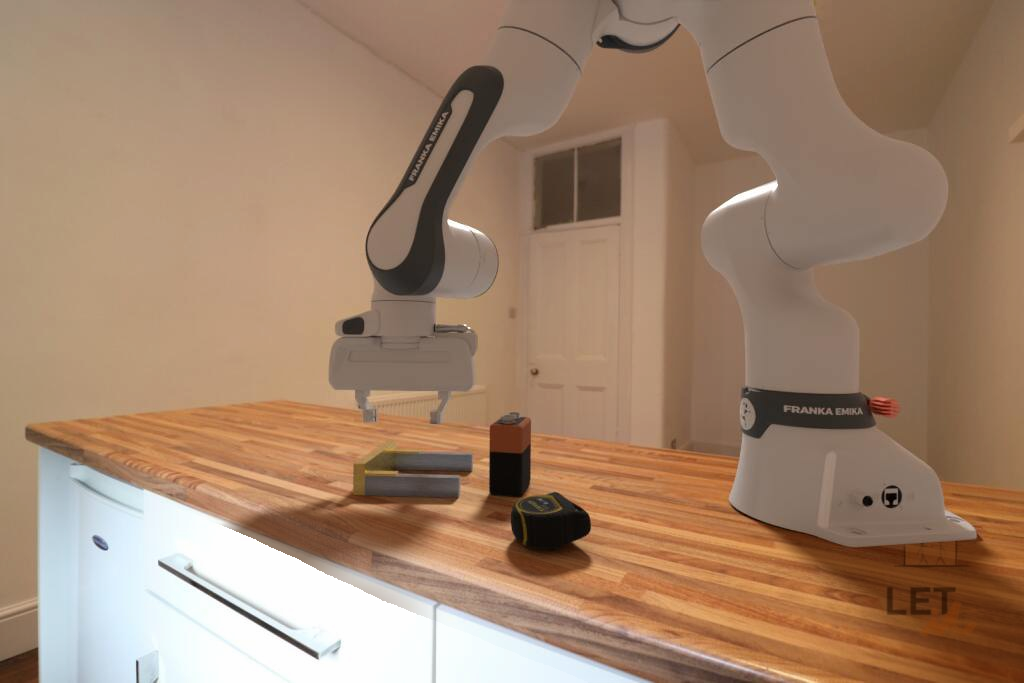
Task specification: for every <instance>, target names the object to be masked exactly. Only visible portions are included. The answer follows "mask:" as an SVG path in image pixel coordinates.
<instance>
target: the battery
mask: <svg viewBox="0 0 1024 683" xmlns="http://www.w3.org/2000/svg"><path fill="white" fill-rule="evenodd" d="M520 414H521V413H520V412H518V411H512V412H511V411H509V412H508V414H503V415H500V418H499V419H497V420H496V421H494V422H493V423H491V424H490V425H489V456H488V457H489V462H488V463H489V464H488V465H489V466H488V469H489V471H488V472H489V478H488V480H489V484H488V485H489V487H488V488H489V490H488V492H489V494H490V495H491V496H501V497H502V496H503V497H513V498H521V497H522V496H523V494H524V492H525V491H526V489H527V487H528V486H529V484H530V482H531V474H532V473H531V469H532V468H531V465H532V464H531V463H532V462H531V460H532V459H531V455H532V447H531V446H532V420H531V418H530V417H526V416H521V415H520Z"/></svg>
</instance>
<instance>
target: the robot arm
mask: <svg viewBox="0 0 1024 683" xmlns="http://www.w3.org/2000/svg"><path fill="white" fill-rule="evenodd" d="M680 26H682V27H683V28H684V29H685V30H687V31H688V32H689V34H690V35H691V36H692V38H693V40H694V42H695V43H696V46H697V48H699V51H700V57H701V62H702V66H703V69H704V70H703V71H704V74H705V78H706V83H707V86H708V89H709V94H710V97H711V101H712V105H713V109H714V112H715V116H716V120H717V123H718V127H719V131H720V136H721V137H722V138H723V140H724V141H725V143H727V145H728V146H731V147H732V148H734V149H735V150H736V149H737V150H741V151H746V152H754V153H756V154H757V155H759V156H760V157H761V158H762V159H763V160H764V161H765V162H766V163H767V165H768V166H769V168H770V170H771V172H772V173H773V175H774V176H775V177H774V178H775V180H773V181H770V182H767V183H765V184H762V185H759V186H757V187H753V188H752V189H751V188H750V189H749V190H746V191H742V192H740V193H738V194H737V195H735V196H733V197H732V198H730V199H729V200H727V201H725V202H724V203H722V204H721V205H720V206H719V207H717V208H716V209H714V210H712V211H711V212H710V213H709V215H707V217H706V218H705V220H704V222H703V224H702V227H701V231H700V233H701V234H700V246H701V251H702V253H703V256H704V258H705V259H706V261H707V263H708V264H709V265H710V267H712V269H713V270H715V271H716V272H718V273H719V274H721V275H722V277H723V278H725V280H726V281H727V283H728V284H729V286H730V288H731V290H732V292H733V294H734V296H735V298H736V301H737V303H738V306H739V309H740V312H741V318H742V322H743V329H744V355H745V358H744V359H745V362H744V364H745V365H744V366H745V370H744V371H745V372H744V373H745V376H744V378H745V382H744V383H745V384H744V385H742V387H741V392H740V406H739V419H740V431H741V433H742V436H741V437H742V438H741V445H740V446H741V447H740V453H739V454H740V455H739V459H738V463H737V464H738V465H737V470H736V473H735V478H734V481H733V485H732V487H731V491H730V492H729V496H728V501H729V503H730V504H731V505H732V506H733V507H734V508H736V510H738V511H740V512H741V513H743V514H746V515H747V516H749V517H752V518H754V519H756V520H759V521H761V522H764V523H767V524H770V525H773V526H776V527H780V528H782V529H783V528H784V529H787V530H791V531H796V532H799V533H804V534H808V535H811V536H815V537H818V538H820V539H824V540H825V541H829V542H831V543H835V544H838V545H841V546H845V547H849V548H863V547H864V548H866V547H877V546H879V547H881V546H893V545H909V544H910V545H911V544H922V543H923V544H926V543H940V542H954V541H955V542H956V541H969V540H976V539H978V536H977V530H976V529H975V527H974V525H972V524H971V523H970V522H969V521H967V520H966V519H964V518H962V517H960V516H958V515H957V514H954V513H953V512H951V511H949V510H947V509H946V508H945V500H944V492H943V488H942V484H941V481H940V479H939V477H938V475H937V473H936V471H935V470H934V469H933V468H932V467H931V466H929V464H927V463H926V462H925V461H923V460H922V459H920V458H919V457H917V456H916V455H915V454H914V453H912V452H911V451H909V450H908V449H906V448H905V447H903V446H902V445H901V444H900V443H898V442H897V441H895V440H894V439H892V438H891V437H890V436H889V435H887V434H886V433H885V432H883V431H882V430H881V429H879V428H878V427H877V422H876V419H875V417H874V415H876V416H882V417H885V418H887V419H893V418H896V417H898V414H901V411H900V410H901V409H902V407H900V406H901V403H897V402H899V401H898V400H897V399H894V398H885V397H882V396H876V397H873V398H870V397H868V396H867V395H866V394H864V393H862V392H861V391H860V346H861V345H860V338H861V337H860V334H861V330H860V327H859V324H858V323H857V321H856V319H855V318H854V317H853V315H852V314H851V313H850V312H849V311H847V310H846V309H844V308H842V307H840V306H839V305H837V304H835V303H832V302H830V301H828V300H825V299H824V297H823V296H822V295H821V294H820V292H819V290H818V287H817V286H816V283H815V279H814V268H816V267H825V266H831V265H837V264H838V265H839V264H845V263H852V262H857V261H858V262H859V261H865V260H870V259H872V258H876V257H879V256H881V255H884V254H888V253H891V252H894V251H896V250H899V249H902V248H905V247H907V246H910V245H913V244H916V243H919V242H922V240H924V239H925V238H927V237H928V236H929V235H930V234H931V233H932V231H933V230H934V229H935V228H936V227H937V225H938V223H939V222H940V220H941V219H942V217H943V215H944V212H945V210H946V207H947V204H948V198H949V181H948V176H947V174H946V171H945V169H944V168H943V166H942V164H941V163H940V161H939V160H938V159H937V158H936V157H935V156H934V155H933V154H932V153H931V152H929V151H928V150H926V149H925V148H924V147H922V146H920V145H917V144H915V143H912V142H910V141H909V142H908V141H905V140H904V141H903V140H899V139H896V138H892V137H890V136H886V135H884V134H882V133H880V132H878V131H877V130H874V129H873V128H872V127H870V126H868V125H867V124H865V122H864V121H863V120H861V119H860V118H859V117H858V116H857V115H855V113H854V112H853V111H852V110H851V109H850V107H849V106H848V105H847V103H846V102H845V100H844V99H843V97H842V96H841V94H840V91H839V89H838V87H837V84H836V82H835V78H834V76H833V75H834V74H833V73H832V69H831V65H830V63H829V59H828V56H827V53H826V52H827V51H826V48H825V44H824V41H823V37H822V32H821V28H820V25H819V20H818V15H817V12H816V8H815V3H814V0H508V2H507V5H506V7H505V9H504V11H503V13H502V15H501V18H500V21H499V24H498V25H497V29H496V31H495V33H494V35H493V39H492V40H491V42H490V45H489V47H488V49H487V50H486V52H485V54H484V56H483V57H482V58H481V60H480V61H479V63H477V65H473V66H470V67H468V68H467V69H466V70H464V71H463V72H462V73H461V74H460V75H458V77H457V78H456V80H455V81H454V82H453V84H451V87H450V88H449V89H448V91H447V93H446V95H445V96H444V97H443V99H442V102H441V103H440V105H439V107H438V109H437V110H436V113H435V114H434V116H433V119H432V121H431V122H430V124H429V126H428V128H427V129H426V132H425V134H424V136H423V138H422V139H421V141H420V143H419V145H418V147H417V149H416V151H415V153H414V155H413V157H412V159H411V161H410V163H409V164H408V167H407V169H406V171H405V172H404V173H403V174H404V175H403V176H402V178H401V179H400V182H399V183H398V186H397V187H396V189H395V191H394V193H393V194H392V196H390V198H389V199H388V201H387V202H386V203H385V205H384V206H383V207H382V209H381V210H380V211H379V213H378V214H377V215H376V216H375V218H374V220H373V221H372V223H371V225H370V226H369V228H368V232H367V234H366V239H365V246H364V247H365V250H364V251H365V258H366V261H367V264H368V267H369V269H370V272H371V276H372V279H373V292H372V295H371V298H370V310H367V311H365V312H361V313H359V314H356V315H352V316H348V317H346V318H343V319H340V320H337V321H336V322H335V324H334V332H335V335H336V336H337V337H339V338H337V339H336V340H334V342H333V344H332V346H331V348H330V353H329V354H330V355H329V363H328V383H329V385H330V386H331V388H332V389H333V390H335V391H354V399H355V401H356V402H357V404H358V406H359V408H360V409H361V411H362V421H363V423H365V424H374V423H376V422H377V421H378V420H379V419H378V418H379V417H378V414H379V413H378V412H379V411H378V410H379V409H378V408H373V407H372V405H371V403H370V401H369V399H368V398H369V397H370V396H371V391H380V392H381V391H385V392H386V391H389V392H390V391H393V392H394V391H395V392H396V391H397V392H437V398H438V400H441V401H440V403H439V405H438V407H437V408H436V409H432V410H431V411H429V418H430V419H429V423H430V425H442V424H443V422H444V410H445V408H446V407H447V405H448V404H449V403H450V400H451V399H452V392H460V393H461V392H462V393H463V392H464V393H465V392H470V391H471V390H472V389H473V388H474V387H475V386H476V384H477V374H476V373H477V372H476V371H477V370H476V361H475V357H474V356H475V355H476V354H477V351H478V348H479V347H478V345H479V344H478V343H479V342H478V334H477V332H475V330H474V329H472V328H471V327H468V326H467V324H439V323H438V324H437V317H436V316H437V313H436V312H437V309H436V308H437V303H436V302H437V298H444V299H450V298H451V299H455V300H456V299H457V300H459V299H460V300H467V299H473V298H478V297H480V296H483V294H485V293H486V292H488V290H489V289H490V288H492V286H493V284H494V283H495V280H496V278H497V275H498V272H499V262H500V260H499V259H500V258H499V254H498V253H499V252H498V249H497V247H496V245H495V243H494V242H493V240H492V239H491V238H490V237H489V236H488V235H486V234H485V233H483V232H482V231H479V230H478V229H475V228H474V227H471V226H468V225H467V224H463V223H460V222H458V221H453V220H451V219H449V214H450V211H451V208H452V206H453V204H454V203H455V201H456V199H457V197H458V195H459V194H460V192H461V190H462V187H463V186H464V183H465V182H466V180H467V179H468V177H469V174H470V173H471V170H472V168H473V166H474V165H475V163H476V161H477V159H478V158H479V155H480V154H481V152H482V151H483V150H484V149H485V148H486V147H487V146H488V145H489V144H491V142H493V141H495V140H496V139H499V138H503V137H531V136H535V135H538V134H541V133H544V132H546V131H547V130H549V129H551V128H552V127H553V126H555V125H556V124H557V123H558V121H559V120H560V118H561V117H562V116H563V114H564V113H565V111H566V109H567V108H568V106H569V105H570V102H571V100H572V98H573V96H574V93H575V91H576V89H577V86H578V84H579V82H580V78H581V77H582V75H583V72H584V70H585V68H586V65H587V63H588V60H589V57H590V56H591V53H592V52H593V49H594V47H595V45H597V47H599V48H602V49H611V50H612V49H613V50H619V51H621V52H624V53H628V54H647V53H649V52H653V51H655V50H657V49H658V48H661V46H663V45H664V44H665V43H666V42H668V41H669V40H670V39H671V37H673V35H675V33H676V32H677V31H678V29H679V28H680ZM600 39H601V41H599V40H600Z"/></svg>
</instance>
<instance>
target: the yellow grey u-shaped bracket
mask: <svg viewBox="0 0 1024 683" xmlns="http://www.w3.org/2000/svg"><path fill="white" fill-rule="evenodd" d="M401 470H402V471H403V470H404V471H405V470H406V471H434V472H435V471H437V472H438V471H442V472H443V471H445V472H473V470H474V452H451V451H422V449H414V448H413V449H407V448H406V449H403V448H397V441H394V440H393V441H392V440H390V441H389V440H386V441H384V442H383V443H382V444H379V446H377V447H376V448H374V449H373V450H371V451H370V452H368V453H367V454H365V455H364V456H362V457H361V458H359V459H357V461H355V462H353V470H352V471H353V472H352V474H353V478H352V479H353V481H352V482H353V484H352V486H353V487H352V491H353V492H352V494H353V496H376V497H377V496H378V497H379V496H381V497H407V498H409V497H411V498H412V497H416V498H443V499H444V498H447V499H448V498H449V499H459V497H460V496H461V475H460V474H433V473H431V474H430V473H429V474H425V473H423V474H422V473H400V472H399V471H401Z"/></svg>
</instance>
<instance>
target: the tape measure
mask: <svg viewBox="0 0 1024 683" xmlns="http://www.w3.org/2000/svg"><path fill="white" fill-rule="evenodd" d="M591 522H592V521H591V516H590V514H589V512H587V511H586V510H585V509H584V508H583V507H581V506H580V505H579V504H576V503H575V502H573V501H571V500H570V499H568V498H566V497H565V496H564V495H562V494H561V493H560V492H556V491H552V492H549V493H547V494H535V495H530V496H526V497H523V498H521V499H519V500H518V501H516V502H515V503H514V504H513V506H512V510H511V512H510V527H511V532H512V534H513V536H514V538H515V540H516V541H517V542H518V543H520V544H521V545H523V546H525V547H527V548H529V549H536V550H552V549H553V550H554V549H559V548H563V547H564V546H567V545H569V544H571V543H573V542H576V541H579V540H581V539H583V538H585V537H586V536H588V535H589V534H590V533H591V530H592V523H591Z"/></svg>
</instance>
